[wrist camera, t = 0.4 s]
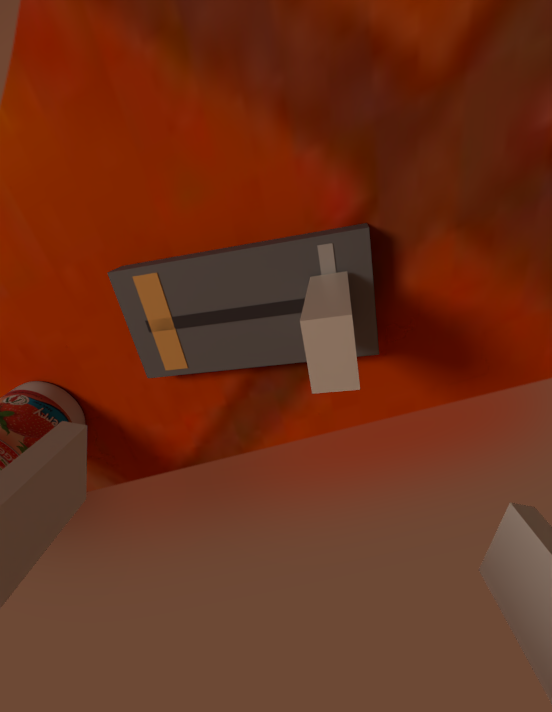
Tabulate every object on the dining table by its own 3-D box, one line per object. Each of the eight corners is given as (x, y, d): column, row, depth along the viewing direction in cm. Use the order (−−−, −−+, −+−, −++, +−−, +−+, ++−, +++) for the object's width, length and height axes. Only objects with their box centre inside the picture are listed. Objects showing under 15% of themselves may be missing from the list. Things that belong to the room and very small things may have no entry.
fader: (347, 271, 30) (352, 314, 21) (353, 328, 32) (360, 389, 23) (310, 276, 31) (299, 321, 22) (318, 332, 33) (312, 393, 24)
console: (366, 223, 31) (369, 227, 29) (376, 342, 36) (379, 354, 33) (121, 266, 36) (106, 273, 33) (158, 366, 40) (147, 378, 38)
